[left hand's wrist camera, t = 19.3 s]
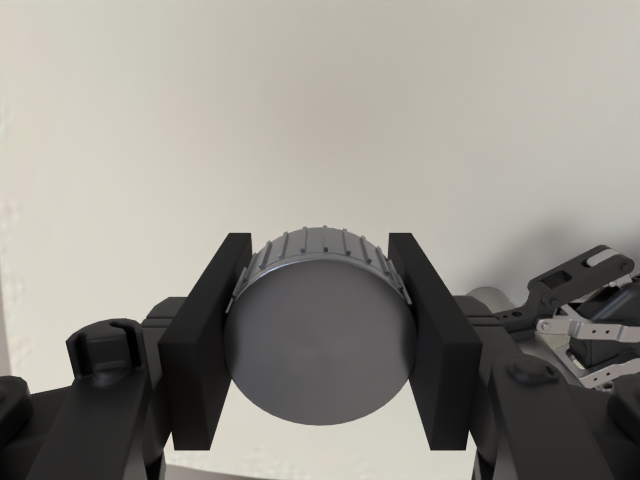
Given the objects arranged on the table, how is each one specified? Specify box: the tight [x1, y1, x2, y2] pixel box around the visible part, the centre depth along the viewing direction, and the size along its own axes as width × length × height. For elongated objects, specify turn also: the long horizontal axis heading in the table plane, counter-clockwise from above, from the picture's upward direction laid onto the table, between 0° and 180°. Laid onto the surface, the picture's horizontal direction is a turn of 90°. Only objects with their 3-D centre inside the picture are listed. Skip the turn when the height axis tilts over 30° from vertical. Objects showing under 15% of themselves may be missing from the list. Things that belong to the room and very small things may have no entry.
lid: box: [222, 226, 418, 426], centre depth 11 cm, size 5×5×2 cm
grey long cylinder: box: [466, 287, 586, 388], centre depth 28 cm, size 4×4×17 cm
